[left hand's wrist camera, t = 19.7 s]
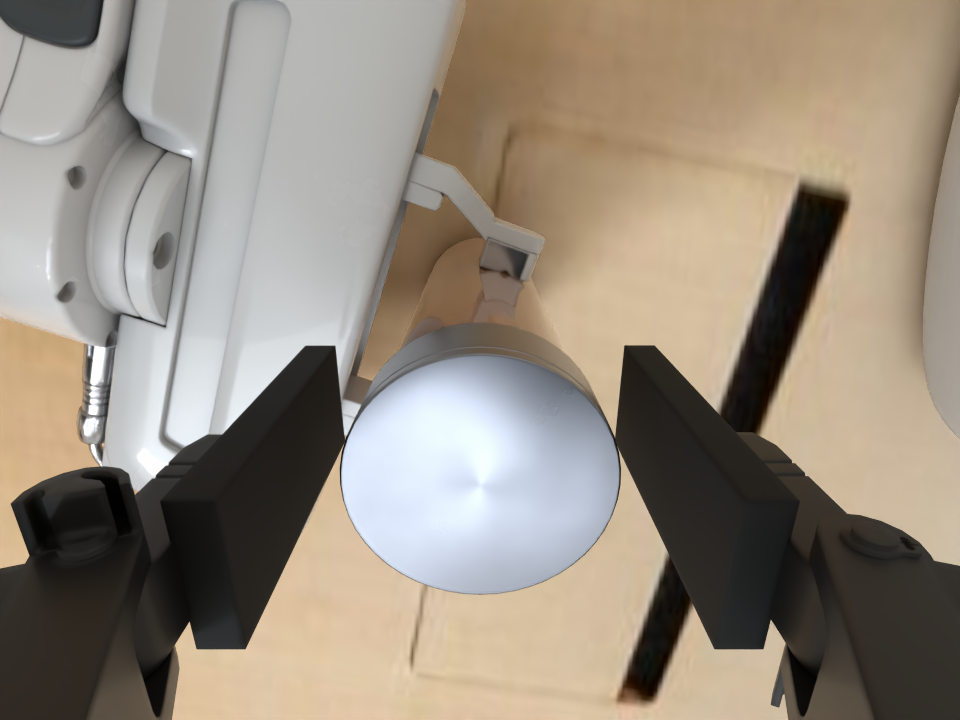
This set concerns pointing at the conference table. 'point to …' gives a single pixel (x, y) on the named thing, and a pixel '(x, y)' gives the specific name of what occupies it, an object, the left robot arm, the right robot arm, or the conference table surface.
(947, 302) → the projector
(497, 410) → the lid
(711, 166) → the conference table surface
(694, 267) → the conference table surface
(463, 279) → the jar
